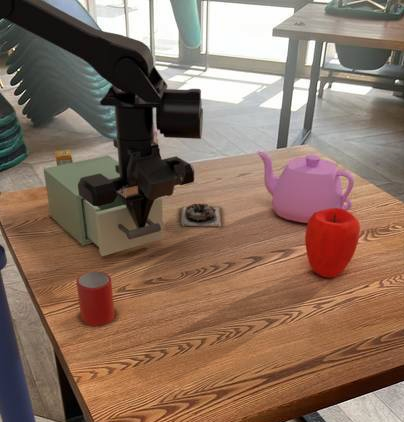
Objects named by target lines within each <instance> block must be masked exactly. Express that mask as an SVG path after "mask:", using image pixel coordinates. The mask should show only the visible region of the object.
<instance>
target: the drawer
mask: <svg viewBox="0 0 404 422" xmlns="http://www.w3.org/2000/svg"><path fill="white" fill-rule="evenodd" d="M81 203H82V211H83V220H84V228H85V235H86V236H87V237H88V238H89V239H90V240H91V241H92V242H93V243H92V244H94V245H95V246H96V247H98V253H99V255H101V256H102V257H104V256H105V257H106V256H108V255H112V254H116V253H120V252H122V251H126V250H129V249H132V248H136V247H139V246H143V245H146V244H150V243H153V242H156V241H160V240H163V239H164V220H163V219H164V218H163V217H164V216H163V198H162V197H159V198H157V199H155V200H154V202H153V205H152V207H151V210H150V213H149V216H148V219H147V222H146V225H145V227H141V228H137V227H136V225H135V223H134V221H133V219H132V217H131V215H130V213H129V211H128V209H127V207H126V205H125V203H124V202H123V200H122V199H120V198H119V197H118V196H117V198H116V199H115V201H114V202H113V203H110V204H106V205H102V206H93V205H91V204H90V203H89V202H88V201H86V200H85V199H84V198H83V199H81Z"/></svg>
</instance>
